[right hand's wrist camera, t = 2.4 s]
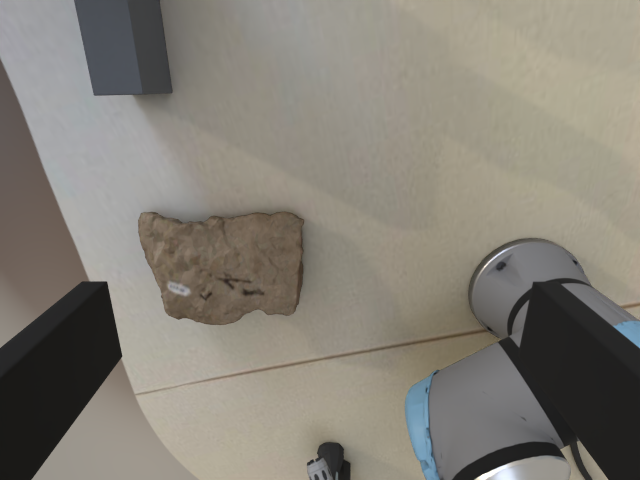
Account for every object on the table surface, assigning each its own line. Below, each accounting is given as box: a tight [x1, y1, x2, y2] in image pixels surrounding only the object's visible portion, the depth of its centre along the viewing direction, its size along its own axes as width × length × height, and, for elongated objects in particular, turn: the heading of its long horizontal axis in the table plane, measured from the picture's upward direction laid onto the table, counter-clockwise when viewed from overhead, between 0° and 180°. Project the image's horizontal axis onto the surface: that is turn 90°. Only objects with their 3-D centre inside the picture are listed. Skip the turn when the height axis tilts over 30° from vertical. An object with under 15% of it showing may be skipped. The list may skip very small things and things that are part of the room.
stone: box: [138, 212, 304, 325], centre depth 53 cm, size 21×15×6 cm
